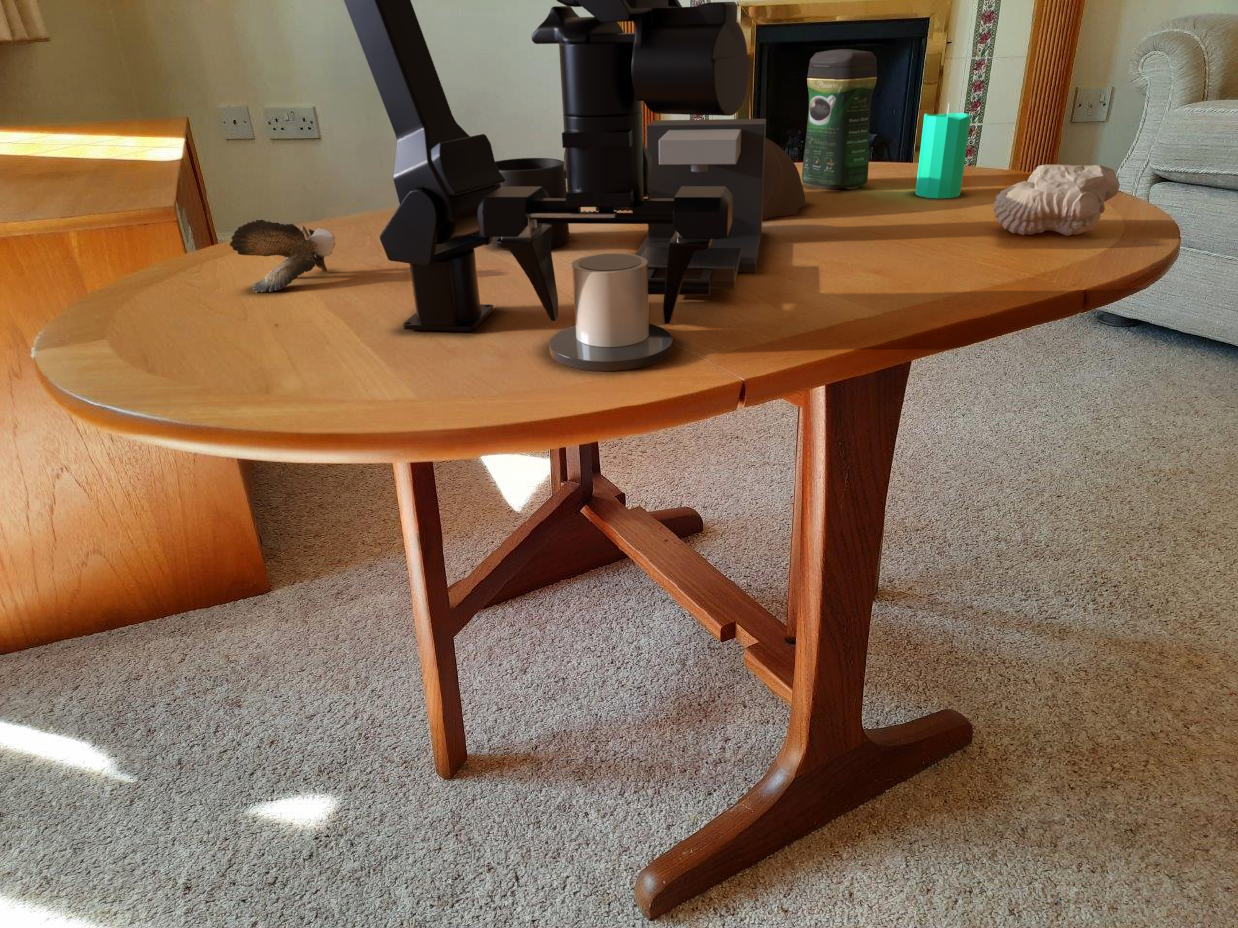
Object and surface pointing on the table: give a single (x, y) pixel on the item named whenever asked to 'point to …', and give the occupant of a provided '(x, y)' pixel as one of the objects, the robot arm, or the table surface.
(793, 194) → the decorative dome
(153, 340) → the table surface
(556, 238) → the mug
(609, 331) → the white cup
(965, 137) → the candle
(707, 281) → the tray
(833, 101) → the coffee jar
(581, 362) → the coaster
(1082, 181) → the fossil replica
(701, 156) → the coffee machine
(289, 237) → the eagle figurine
